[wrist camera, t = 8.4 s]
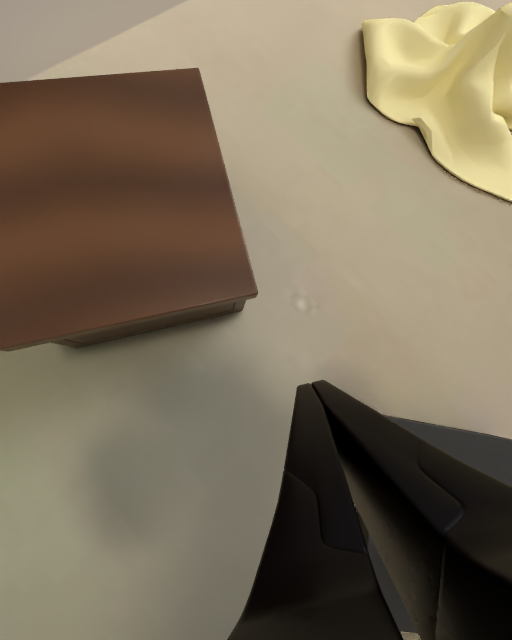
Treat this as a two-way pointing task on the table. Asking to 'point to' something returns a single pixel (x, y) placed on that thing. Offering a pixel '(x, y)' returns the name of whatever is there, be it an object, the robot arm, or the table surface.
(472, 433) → the button block
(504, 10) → the cloth
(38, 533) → the table surface
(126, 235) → the lid
